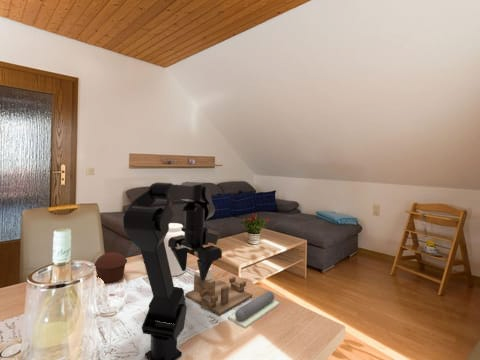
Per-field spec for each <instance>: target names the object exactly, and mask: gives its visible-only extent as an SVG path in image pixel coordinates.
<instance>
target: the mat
mask: <svg viewBox="0 0 480 360" xmlns="http://www.w3.org/2000/svg"><path fill="white" fill-rule="evenodd" d="M279 305H280V302H279V301H277V300H274V299H273V300H272V301H271V302H269V303H268V304H266V305H265V306H263V307H262V308H260V309H259V310H257V311H255V312H254V313H252V314H251V315H249V316H248V317H246V318H245V319H243V320H238V319H237V318H236V316H235V313H236V311H234V312H232V313H231V314H229V315H228V316H227V319H228V320H230V321H232V322H233V323H235V324H237V325H239V327H242V328H243V329H247V328H248V327H250V325H252V324H254V323H255V322H257V321H258V320H259V319H261V318H262V317H263V316H265V315H267V314H268V313H269V312H271V311H273V309H275V308H277V307H278V306H279Z"/></svg>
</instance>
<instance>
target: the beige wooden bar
mask: <svg viewBox="0 0 480 360" xmlns="http://www.w3.org/2000/svg"><path fill="white" fill-rule="evenodd" d="M194 275H197V276H199V277H200V273H199V269H197V270H194ZM210 279H213V268H209V271H208V273H207V276H206V278H205V280H210Z"/></svg>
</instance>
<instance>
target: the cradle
mask: <svg viewBox="0 0 480 360" xmlns="http://www.w3.org/2000/svg"><path fill="white" fill-rule="evenodd" d="M193 276H194V277H193V289H191V290H190V291H188V292H184V296H185V298H186V299H187V298H188V299H189V300H191V301H193V302H194V303H196V304H197V305H200V306H201V307H202V308H205V309H206V310H207V311H209V312H211V313H212V314H215V315H217V316H218V317H221V316H223V315H225V314H227V313H228V312H229V311H231V310H233V309H234V308H237V307H238V306H240V305H241V304H243V303H245V302H246V301H248V300H250V299H252V298H253V294H251V293H250V292H247V291H245V287H247V281H245V280H243V281H241V282H238V281H236V280H237V278H236V276H232V277H229V280H228V281H229V282H225V281H223V280H221V279H219V278H218V279H216V280H215V279H213V278H212V279H210V280H203V281H202V280H201V277H199V276H197V275H195V274H194V275H193Z"/></svg>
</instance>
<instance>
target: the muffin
mask: <svg viewBox="0 0 480 360" xmlns="http://www.w3.org/2000/svg"><path fill="white" fill-rule="evenodd" d="M127 262H128V259H127V258H126V256H125V255H123V254H121V253H120V252H114V251H113V252H112V251H111V252H106V253H103V254H102V255H100V256H99V257H98V258H97V259H96V261H95V263H94V267H95V266H96V267H95V271H96V276H97V277H96V278H98V277H99V278H101V279H102V280H103V281H104V283H105V284H107V285H110V284H114V283H119V282H120V281H121V280H123V279H124V274H125V268H126V264H127ZM105 284H104V285H105Z"/></svg>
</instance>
